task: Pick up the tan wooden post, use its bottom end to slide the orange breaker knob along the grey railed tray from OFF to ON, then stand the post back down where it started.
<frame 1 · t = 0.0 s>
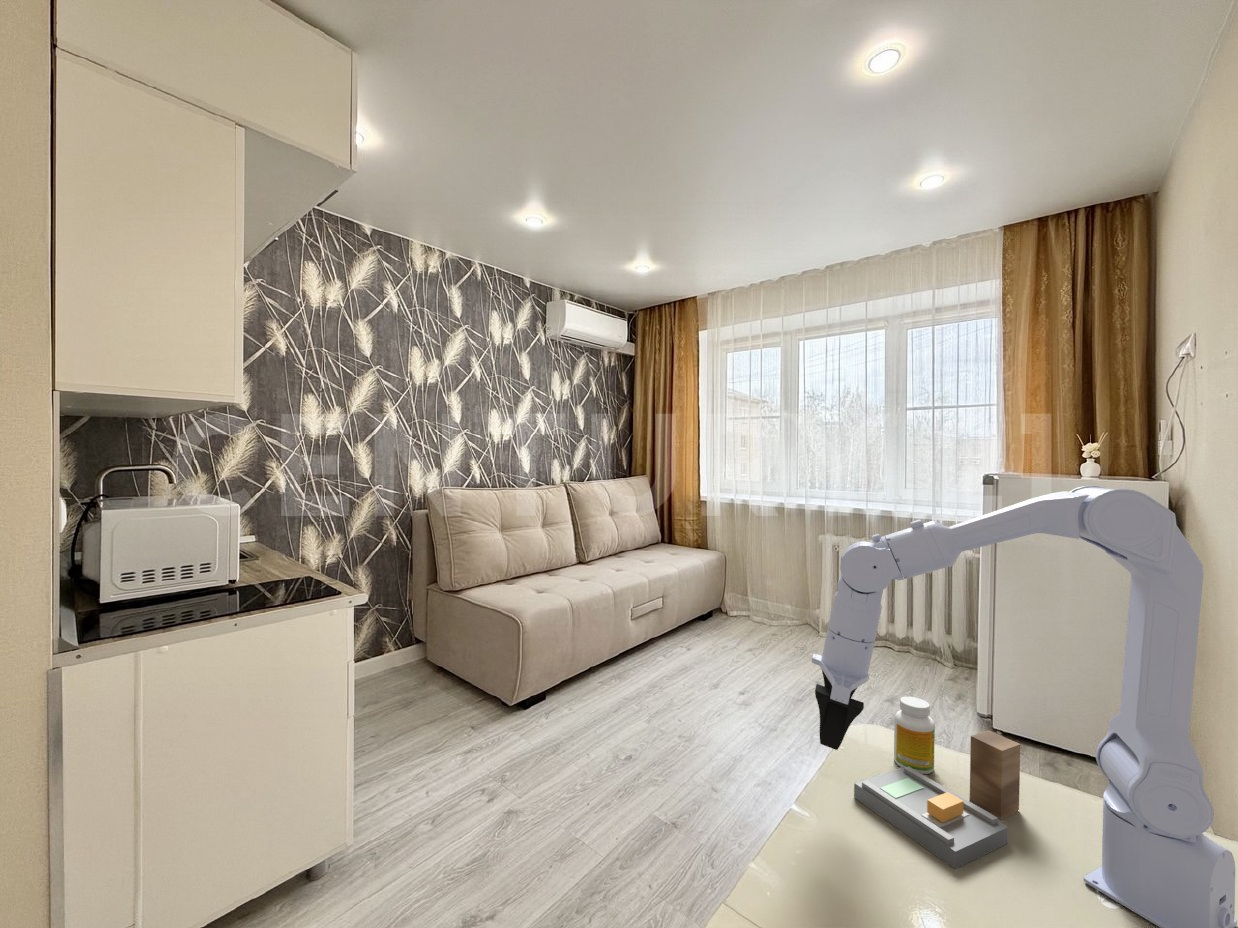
hand: (830, 731, 70), 11 cm above the table, tool pointing down, fingers open, 7 cm apart
supplement bottle: (913, 766, 81), on the table
tan wooden post: (993, 806, 72), on the table
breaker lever: (945, 806, 66), point 3 cm above the table, slide at 0.0 cm
grey railed tray: (926, 818, 69), on the table
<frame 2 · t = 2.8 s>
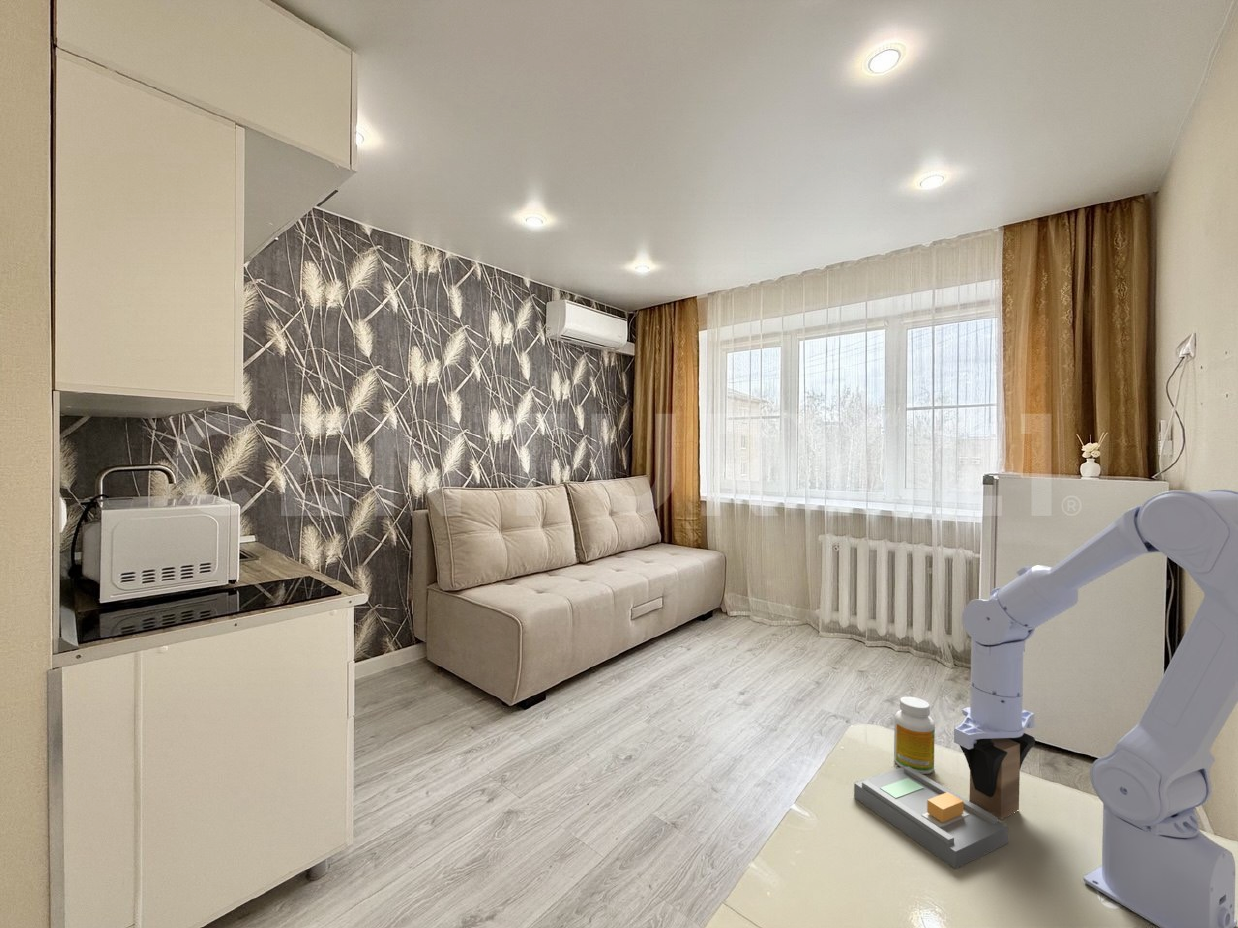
hand: (994, 788, 72), 2 cm above the table, tool pointing down, fingers closed on tan wooden post, 4 cm apart
tan wooden post: (993, 805, 72), on the table, touching gripper
everything else where it was.
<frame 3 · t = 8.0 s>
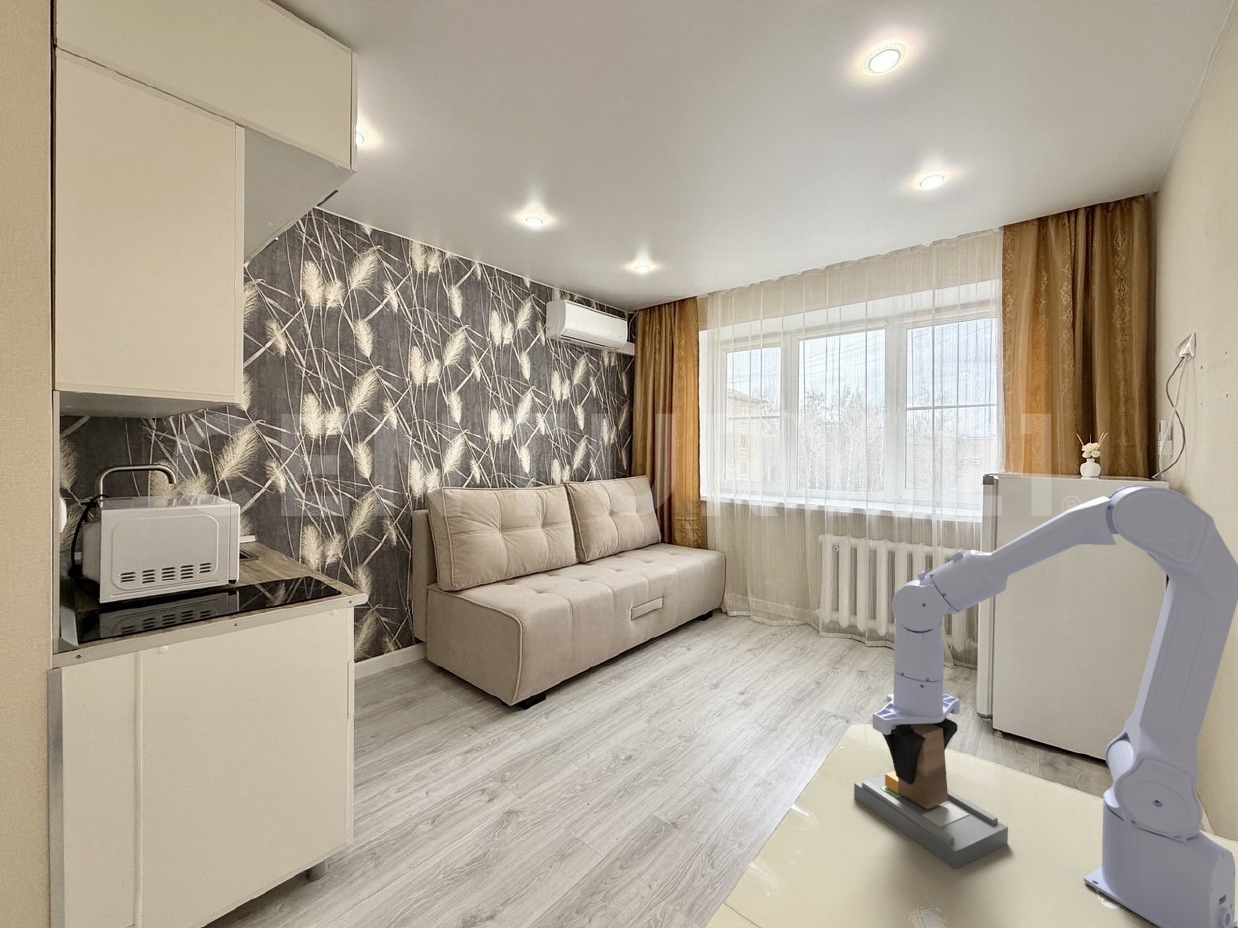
hand: (916, 775, 70), 5 cm above the table, tool pointing down, fingers closed on tan wooden post, 4 cm apart
tan wooden post: (923, 797, 69), point 3 cm above the table, tilted 6°, touching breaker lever, gripper
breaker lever: (901, 779, 72), point 3 cm above the table, slide at 6.1 cm, touching tan wooden post
everything else where it was.
when the fingers open (3 cm above the table, at t = 11.4 s): tan wooden post drops 1 cm, on the table.
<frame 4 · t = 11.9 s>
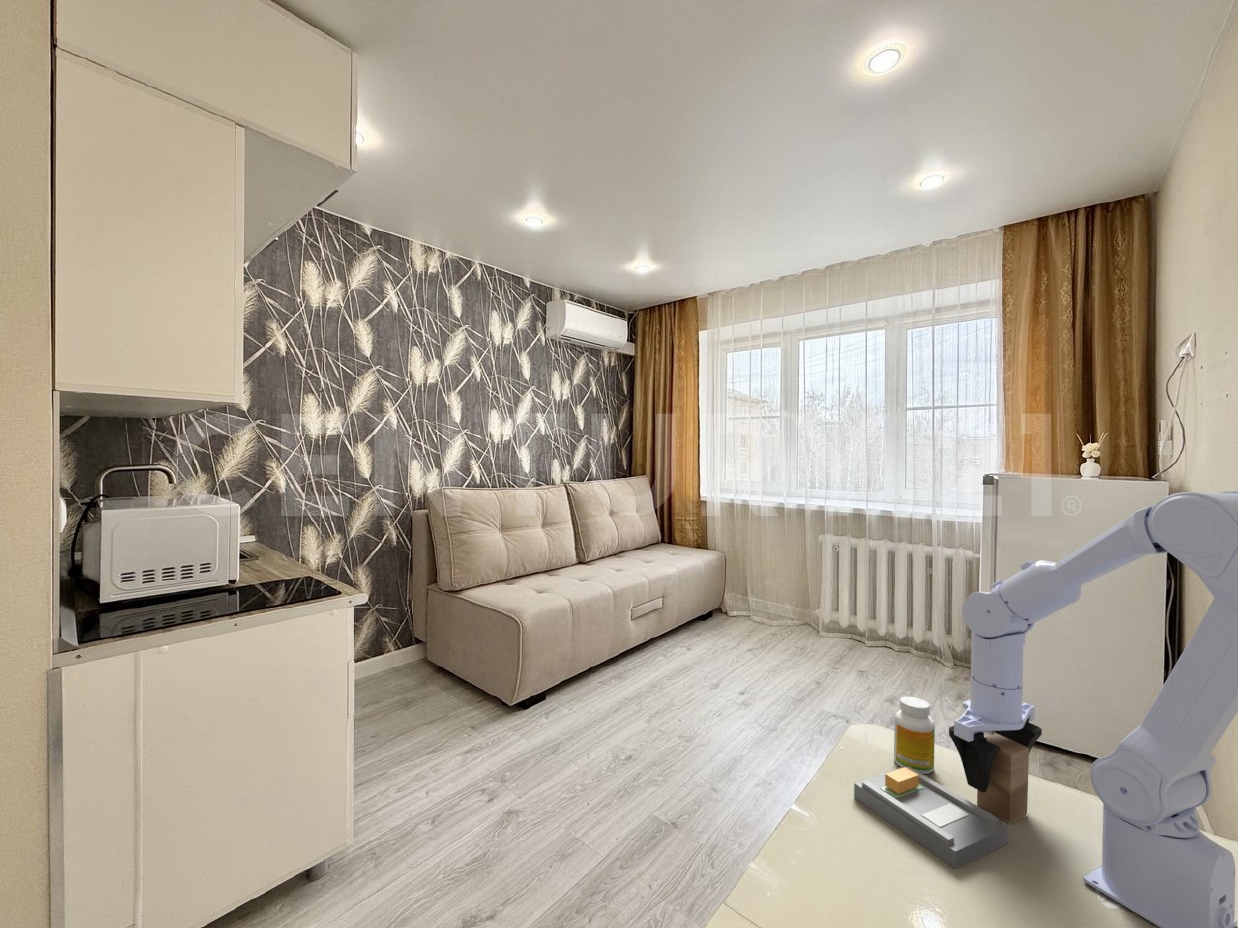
hand: (994, 780, 72), 3 cm above the table, tool pointing down, fingers open, 7 cm apart
tan wooden post: (1001, 810, 71), on the table
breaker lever: (901, 780, 72), point 3 cm above the table, slide at 6.0 cm
everything else where it was.
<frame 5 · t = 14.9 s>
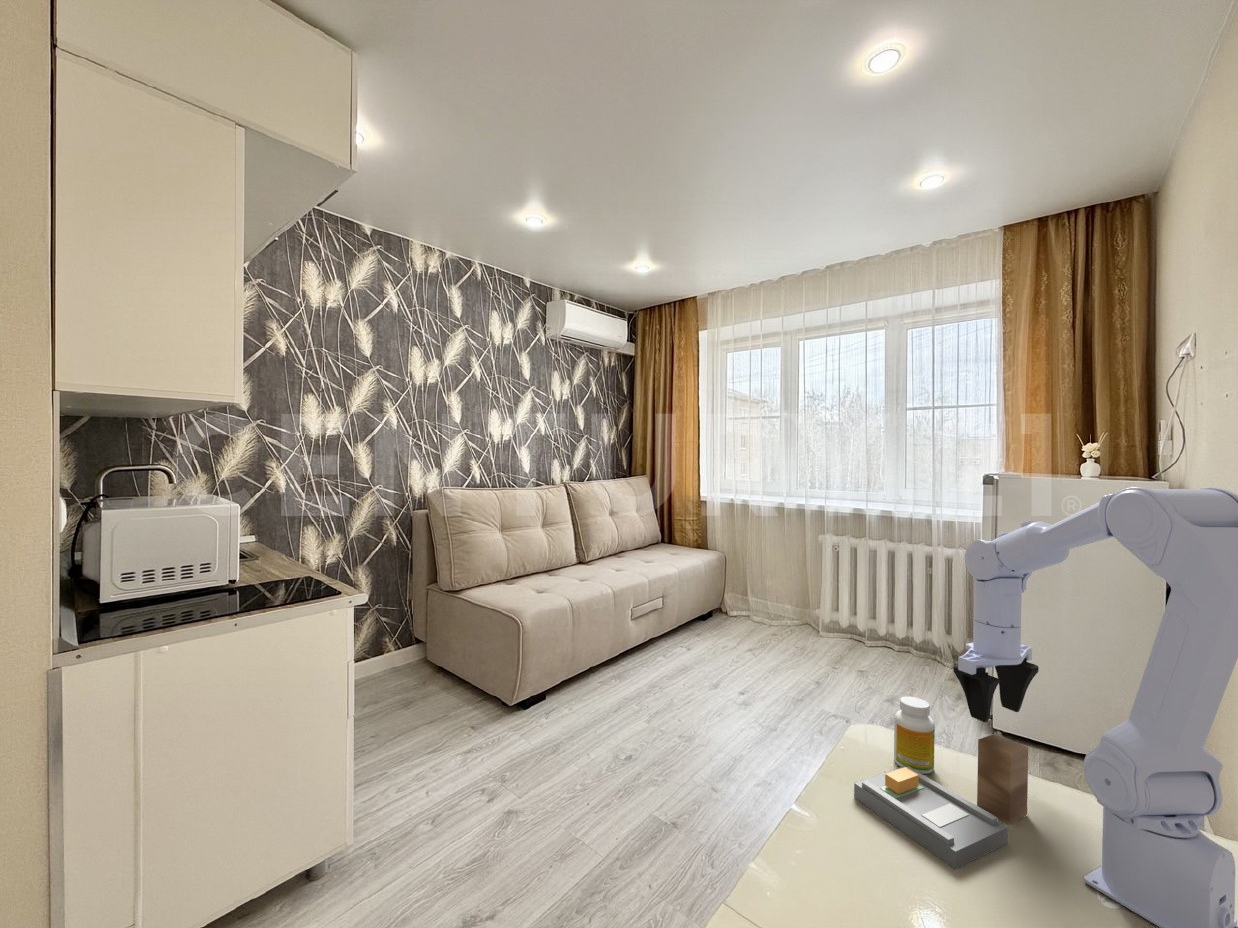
hand: (995, 713, 78), 9 cm above the table, tool pointing down, fingers open, 7 cm apart
nothing on the table moved.
at the end: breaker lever slide at 6.0 cm; tan wooden post tilted 0°; tan wooden post 1.0 cm from the target spot, on the table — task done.
